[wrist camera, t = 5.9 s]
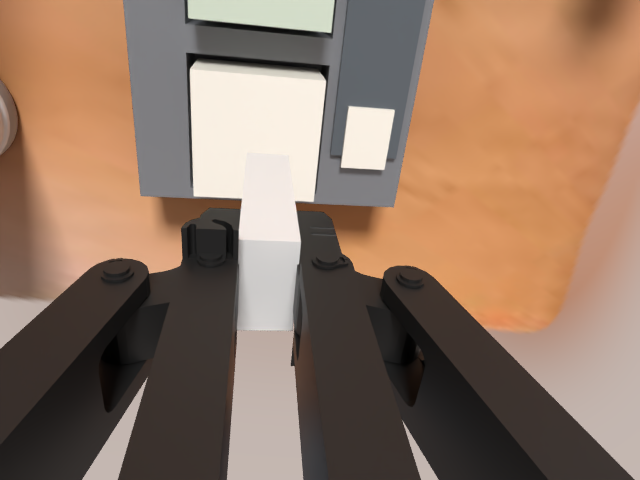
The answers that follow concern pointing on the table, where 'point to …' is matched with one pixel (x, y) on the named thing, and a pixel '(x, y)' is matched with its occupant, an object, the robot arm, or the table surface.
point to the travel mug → (7, 119)
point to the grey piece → (286, 50)
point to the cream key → (253, 123)
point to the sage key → (267, 13)
